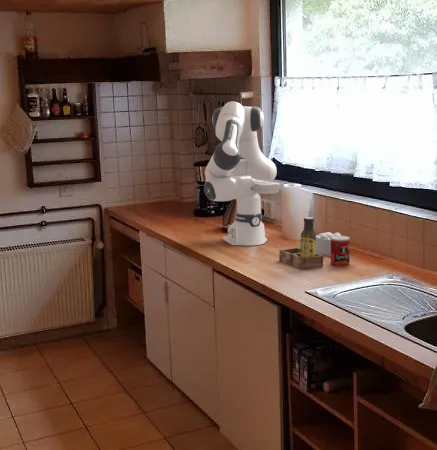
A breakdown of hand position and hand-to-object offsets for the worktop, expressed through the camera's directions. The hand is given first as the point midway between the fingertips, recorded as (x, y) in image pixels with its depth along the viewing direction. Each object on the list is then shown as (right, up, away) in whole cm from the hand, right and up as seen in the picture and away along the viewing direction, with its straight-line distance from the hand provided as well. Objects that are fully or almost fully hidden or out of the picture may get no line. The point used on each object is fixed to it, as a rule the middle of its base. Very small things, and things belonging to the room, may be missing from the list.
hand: (276, 184), depth 279 cm
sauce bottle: (+14, -33, +10) cm, 37 cm away
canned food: (+27, -32, +12) cm, 44 cm away
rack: (+11, -32, +14) cm, 36 cm away
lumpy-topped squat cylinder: (+26, -28, +32) cm, 50 cm away
